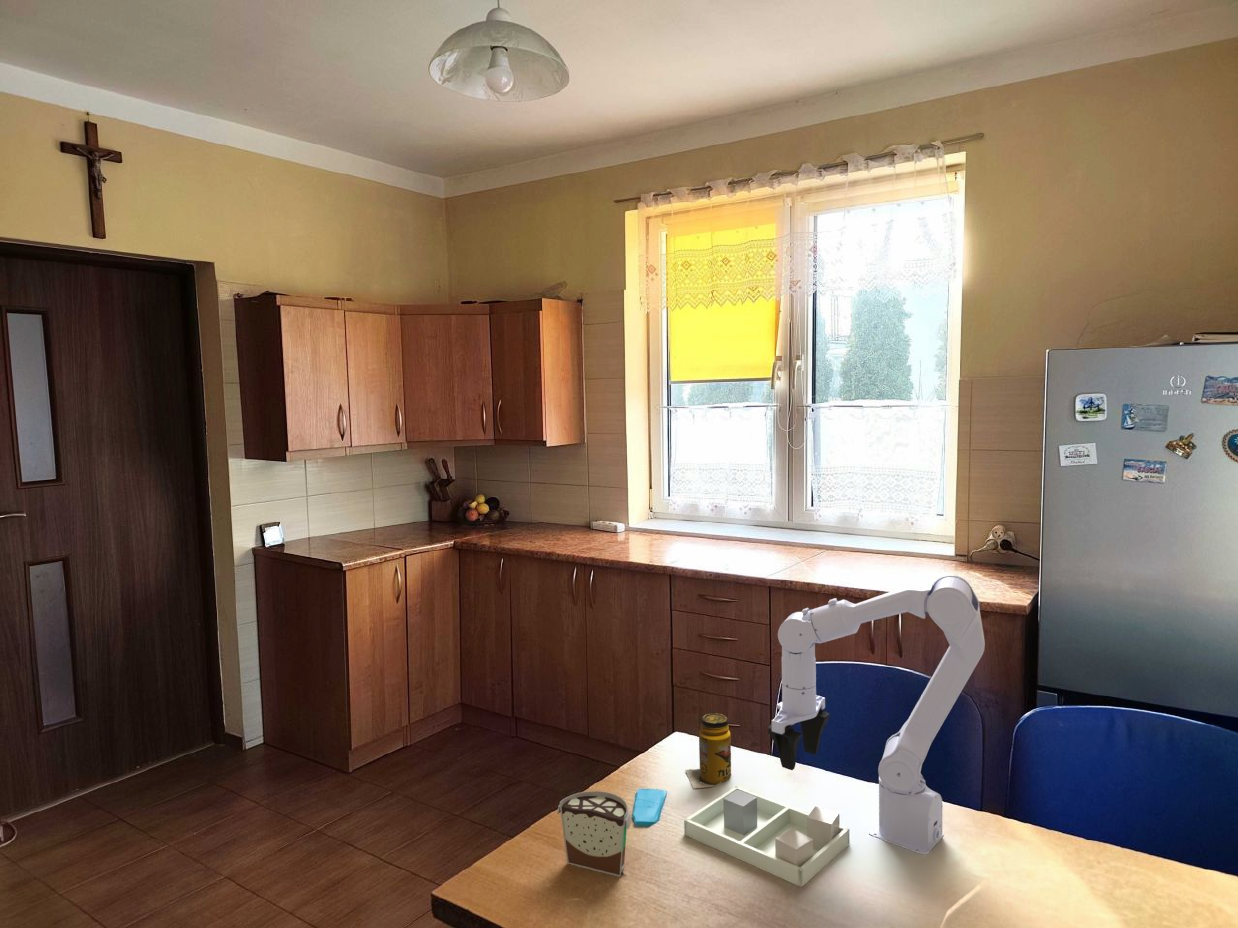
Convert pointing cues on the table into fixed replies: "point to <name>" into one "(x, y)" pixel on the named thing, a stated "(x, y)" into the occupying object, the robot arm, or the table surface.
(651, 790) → the sponge
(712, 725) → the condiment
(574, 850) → the food container
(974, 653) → the robot arm
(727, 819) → the grey rectangular block
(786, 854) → the white block
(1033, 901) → the table surface
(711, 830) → the tray
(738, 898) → the table surface
